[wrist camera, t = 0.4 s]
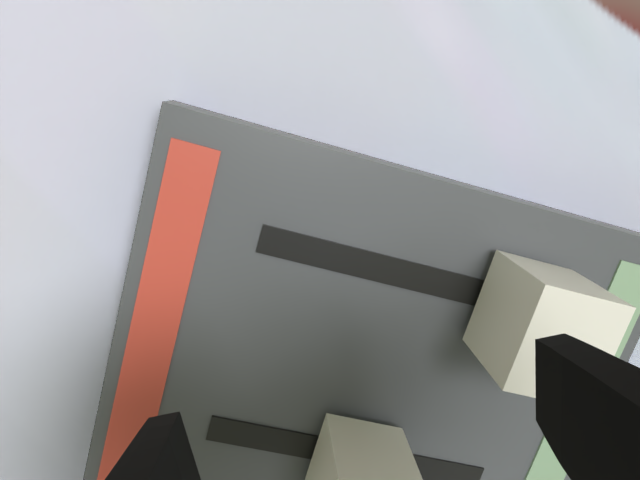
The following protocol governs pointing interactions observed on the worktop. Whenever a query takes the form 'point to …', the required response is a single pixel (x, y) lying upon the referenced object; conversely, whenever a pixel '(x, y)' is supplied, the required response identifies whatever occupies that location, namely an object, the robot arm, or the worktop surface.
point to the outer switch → (538, 317)
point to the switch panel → (326, 305)
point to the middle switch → (361, 452)
